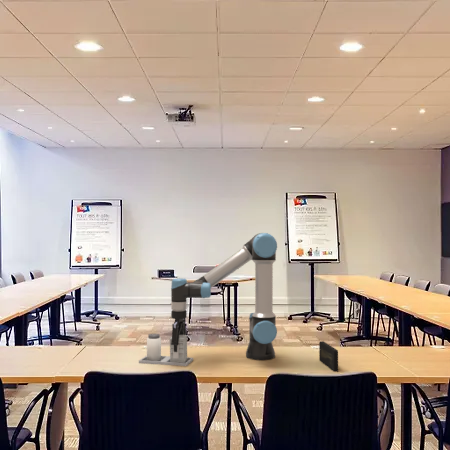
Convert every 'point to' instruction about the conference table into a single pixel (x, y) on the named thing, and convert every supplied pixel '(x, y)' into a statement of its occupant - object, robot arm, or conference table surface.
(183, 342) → the supplement box
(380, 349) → the conference table surface
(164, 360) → the grey divided tray
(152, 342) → the bottle
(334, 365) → the nameplate
